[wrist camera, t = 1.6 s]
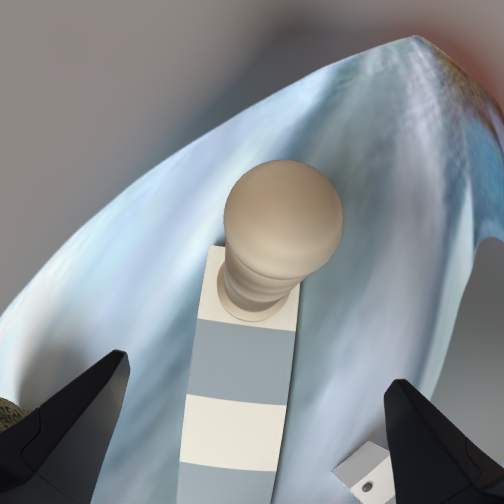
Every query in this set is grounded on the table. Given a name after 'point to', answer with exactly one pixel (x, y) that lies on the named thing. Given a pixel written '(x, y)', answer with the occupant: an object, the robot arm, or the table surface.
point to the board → (235, 400)
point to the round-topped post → (276, 236)
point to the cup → (10, 414)
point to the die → (368, 474)
